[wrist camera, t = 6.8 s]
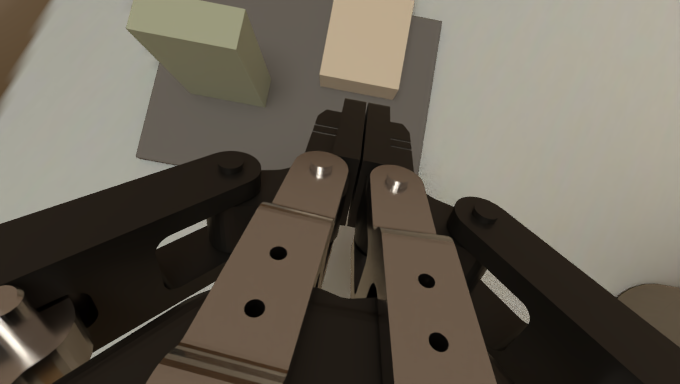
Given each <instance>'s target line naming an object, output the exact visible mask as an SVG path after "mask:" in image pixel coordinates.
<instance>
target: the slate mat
mask: <svg viewBox="0 0 680 384" xmlns="http://www.w3.org/2000/svg"><path fill="white" fill-rule="evenodd" d="M201 1H207V2H212V3H217V4H222V5H227V6H232V7H237V8H242V9H246V12H247V15H248V18H249V20H250V23H251V26H252V29H253V31H254V34H255V37H256V40H257V42H258V45H259V48H260V50H261V53H262V56H263V59H264V61H265V64H266V67H267V70H268V72H269V75H270V78H271V82H270V87H269V92H268V96H267V101H266V106H265V107H259V106H254V105H249V104H243V103H238V102H233V101H227V100H222V99H217V98H212V97H206V96H201V95H196V94H191V93H190V92H189V91H188V90H187V89H186V88H185V87H184V86H183V85H182V84H181V83H180V82H179V81H178V80H177V79H176V78H175V77H174V76H173V75H172V74H171V73H170V72H169V71H168V70H167V69H166V68H165V67H164V66H163V65H162V64H161V63H160V62H159V66H158V70H157V74H156V78H155V82H154V86H153V90H152V94H151V98H150V102H149V106H148V110H147V114H146V118H145V121H144V125H143V129H142V133H141V137H140V141H139V145H138V149H137V153H136V157H137V158H140V159H145V160H151V161H156V162H161V163H167V164H172V165H181V164H184V163H187V162H190V161H193V160H196V159H199V158H202V157H205V156H208V155H211V154H214V153H218V152H223V151H239V152H244V153H247V154H250V155H252V156H253V157H255V158H256V159H257V160H258V161H259V162H260V164H261V170H280V169H286V168H290V167H291V166H292V164H293V162H294V160H295V159H296V158H297V157H298V156H299V155H301V154H303V153H305V151H306V148H307V145H308V142H309V139H310V136H311V133H312V131H313V128H314V125H315V122H316V119H317V116H318V115H319V114H321V113H322V112H324V111H325V110H332V111H338V112H342V109H343V105H344V100H345V98H349V99H354V100H359V101H364V102H367V103H366V109H367V105H368V102H370V103H375V104H380V105H385V106H390V122H395V123H400V124H403V125H404V126H405V127H406V129H407V130H408V131H409V132H410V139H411V151H412V158H413V167H414V173H415V174H416V175H418V171H419V165H420V159H421V152H422V146H423V140H424V133H425V127H426V121H427V114H428V108H429V101H430V95H431V89H432V82H433V76H434V70H435V63H436V57H437V51H438V44H439V38H440V32H441V25H442V21H438V20H433V19H428V18H423V17H418V16H413V15H412V16H411V22H410V28H409V33H408V39H407V45H406V50H405V56H404V62H403V67H402V73H401V79H400V85H399V90H398V92H397V93H396V95H395V97H394V99H393V100H390V99H385V98H380V97H374V96H369V95H364V94H359V93H353V92H348V91H343V90H338V89H332V88H327V87H322V86H320V75H319V74H320V69H321V64H322V59H323V53H324V48H325V43H326V38H327V32H328V27H329V22H330V17H331V11H332V6H333V1H334V0H201ZM365 114H366V112H365Z"/></svg>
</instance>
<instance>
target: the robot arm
mask: <svg viewBox="0 0 680 384" xmlns="http://www.w3.org/2000/svg"><path fill="white" fill-rule="evenodd" d="M366 103H367V102H364V101H359V100H354V99H349V98H345V100H344V105H343V109H342V112H338V111H332V110H325V111H324V112H322V113H321V114H319V115H318V116H317V119H316V122H315V125H314V128H313V131H312V133H311V136H310V139H309V142H308V145H307V148H306V151H305V153H303V154H301V155H299V156H298V157H297V158H296V159H295V160H294V162H293V164H292V166H291V167H290V168H286V169H280V170H261V164H260V162H259V161H258V160H257V159H256V158H255V157H253V156H252V155H250V154H247V153H244V152H239V151H223V152H218V153H214V154H211V155H208V156H205V157H202V158H199V159H196V160H193V161H190V162H187V163H184V164H181V165H178V166H175V167H172V168H169V169H166V170H163V171H160V172H157V173H154V174H151V175H148V176H145V177H141V178H138V179H135V180H132V181H129V182H126V183H123V184H120V185H117V186H114V187H111V188H108V189H105V190H102V191H99V192H96V193H93V194H90V195H87V196H84V197H81V198H78V199H75V200H72V201H69V202H66V203H63V204H60V205H57V206H54V207H50V208H47V209H44V210H41V211H38V212H35V213H32V214H29V215H26V216H23V217H20V218H17V219H14V220H11V221H8V222H5V223H2V224H0V384H680V288H678V287H672V286H666V285H660V284H644V285H640V286H636V287H633V288H631V289H630V290H628V291H626V292H624V293H623V294H622V295H620V296H619V297H618V298H616V297H615V296H613V295H612V294H611V293H609V292H608V291H607V290H606V289H604V288H603V287H602V286H600V285H599V284H598V283H597V282H595V281H594V280H593V279H591V278H590V277H589V276H588V275H586V274H585V273H584V272H583V271H581V270H580V269H579V268H577V267H576V266H575V265H574V264H572V263H571V262H570V261H568V260H567V259H566V258H565V257H563V256H562V255H561V254H559V253H558V252H557V251H556V250H554V249H553V248H552V247H550V246H549V245H548V244H547V243H545V242H544V241H543V240H542V239H540V238H539V237H538V236H536V235H535V234H534V233H533V232H531V231H530V230H529V229H527V228H526V227H525V226H524V225H522V224H521V223H520V222H518V221H517V220H516V219H515V218H513V217H512V216H511V215H509V214H508V213H507V212H506V211H504V210H503V209H502V208H500V207H499V206H498V205H496V204H494V203H492V202H490V201H488V200H485V199H482V198H478V197H464V198H461V199H459V200H458V201H457V202H456V204H455V206H454V207H453V206H450V205H448V204H445V203H443V202H440V201H438V200H436V199H434V198H432V197H430V196H429V195H427V194H426V191H425V187H424V184H423V181H422V180H421V178H420V177H419V176H418V175H416V174H415V173H414V167H413V158H412V151H411V139H410V132H409V131H408V130H407V129H406V127H405V126H404V125H403V124H400V123H395V122H390V106H385V105H380V104H375V103H370V102H368V105H367V109H366ZM365 112H366V114H365ZM349 206H350V209H349ZM348 211H349V217H348V225H347V226H350V227H355V235H354V239H353V243H352V246H351V299H346V298H341V297H339V296H336V295H334V294H332V293H329V292H327V291H325V290H322V289H321V288H322V284H323V280H324V276H325V273H326V269H327V265H328V262H329V258H330V254H331V251H332V247H333V242H334V239H335V238H336V237H337V234H338V230H339V226H340V225H344V226H345V224H346V219H347V215H348ZM205 219H207V226H206V227H203V228H201V229H199V230H197V231H195V232H193V233H190V234H188V235H186V236H184V237H182V238H180V239H178V240H175V241H173V242H171V243H169V244H167V245H165V246H163V247H160V248H158V249H156V248H157V247H158V245H159V244H160V242H161V241H162V240H164V239H165V238H166V237H168V236H170V235H172V234H174V233H176V232H178V231H180V230H183V229H185V228H187V227H189V226H192V225H194V224H196V223H198V222H200V221H203V220H205ZM487 269H488V270H489V271H490V272H491V273H492V274H493V275H494V276H495V277H496V278H497V279H498V280H499V281H500V282H501V283H502V284H503V285H505V286H506V287H507V288H508V289H509V290H510V291H511V292H512V293H513V294H514V295H515V296H516V297H517V298H518V299H519V300H520V301H521V302H522V303H523V304H524V305H525V306H526V308H527V310H528V312H529V315H530V322H529V324H527V323H525V322H524V321H522V320H521V319H520V318H519V317H518V316H517V315H516V314H515V313H514V312H513V311H512V310H511V309H510V308H509V307H508V306H507V305H506V304H505V303H504V302H503V301H502V300H501V299H500V298H499V297H498V296H497V295H495V294H494V293H493V292H492V291H491V290H490V289H489V288H488V287H487V286H486V285H485V284H484V283H483V282H482V281H481V280H480V279H481V278H482V276H483V275H484V273H485V272H486V270H487ZM215 281H216V282H215ZM213 282H215V283H214V285H213V287H212V289H211V290H208V291H205V292H203V293H200V294H198V295H196V296H193V297H191V298H189V299H187V300H185V301H184V302H182V303H180V304H178V305H177V306H175V307H174V308H172V309H170V310H169V311H167V312H166V313H164V314H162V315H161V316H159V317H158V318H156V319H154V320H153V321H151V322H150V323H148V324H146V325H145V326H143V327H142V328H140V329H138V330H137V331H135V332H134V333H132V334H130V335H129V336H127V337H126V338H124V339H122V340H121V341H119V342H117V343H116V344H114V345H113V346H111V347H109V348H108V349H106V350H105V351H103V352H101V353H100V354H98V355H97V356H95V357H93V358H92V359H90V358H91V355H92V353H93V352H95V351H96V350H98V349H100V348H101V347H103V346H105V345H107V344H108V343H110V342H112V341H113V340H115V339H117V338H119V337H120V336H122V335H124V334H126V333H127V332H129V331H131V330H132V329H134V328H136V327H138V326H139V325H141V324H143V323H144V322H146V321H148V320H150V319H151V318H153V317H155V316H156V315H158V314H160V313H162V312H163V311H165V310H167V309H168V308H170V307H172V306H174V305H175V304H177V303H179V302H180V301H182V300H184V299H186V298H187V297H189V296H191V295H193V294H194V293H196V292H198V291H199V290H201V289H203V288H205V287H206V286H208V285H210V284H211V283H213Z"/></svg>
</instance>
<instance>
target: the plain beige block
mask: <svg viewBox="0 0 680 384" xmlns="http://www.w3.org/2000/svg"><path fill="white" fill-rule="evenodd" d="M413 5H414V0H334V1H333V6H332V11H331V17H330V22H329V27H328V32H327V38H326V43H325V48H324V53H323V59H322V64H321V69H320V74H319V75H320V86H322V87H327V88H332V89H338V90H343V91H348V92H353V93H359V94H364V95H369V96H374V97H380V98H385V99H390V100H393V99H394V97H395V95H396V93H397V92H398V90H399V85H400V79H401V73H402V67H403V62H404V56H405V50H406V45H407V39H408V33H409V28H410V22H411V16H412V11H413Z"/></svg>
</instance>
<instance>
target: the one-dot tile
mask: <svg viewBox="0 0 680 384" xmlns="http://www.w3.org/2000/svg"><path fill="white" fill-rule="evenodd" d="M126 29H127V30H128V31H129V32H130V33H131V34H132V35H133V36H134V37H135V38H136V39H137V40H138V41H139V42H140V43H141V44H142V45H143V46H144V47H145V48H146V49H147V50H148V51H149V52H150V53H151V54H152V55H153V56H154V57H155V58H156V59H157V60H158V61H159V62H160V63H161V64H162V65H163V66H164V67H165V68H166V69H167V70H168V71H169V72H170V73H171V74H172V75H173V76H174V77H175V78H176V79H177V80H178V81H179V82H180V83H181V84H182V85H183V86H184V87H185V88H186V89H187V90H188V91H189V92H190V93H191V94H196V95H201V96H206V97H212V98H217V99H222V100H227V101H233V102H238V103H243V104H249V105H254V106H259V107H265V106H266V101H267V96H268V92H269V87H270V82H271V78H270V75H269V72H268V70H267V67H266V64H265V61H264V59H263V56H262V53H261V50H260V48H259V45H258V42H257V40H256V37H255V34H254V31H253V29H252V26H251V23H250V20H249V18H248V15H247V12H246V9H242V8H237V7H232V6H227V5H222V4H217V3H212V2H207V1H201V0H133V4H132V8H131V11H130V15H129V19H128V23H127V26H126Z"/></svg>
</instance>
